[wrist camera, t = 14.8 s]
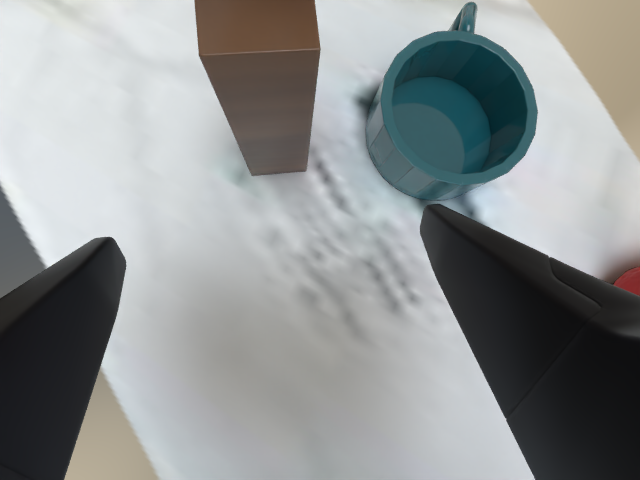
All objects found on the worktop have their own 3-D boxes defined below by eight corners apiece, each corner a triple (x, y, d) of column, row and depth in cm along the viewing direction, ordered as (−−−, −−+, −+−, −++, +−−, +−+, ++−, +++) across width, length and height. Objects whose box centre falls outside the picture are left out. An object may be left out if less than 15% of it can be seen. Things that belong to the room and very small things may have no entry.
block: (306, 171, 24) (320, 50, 11) (251, 175, 23) (198, 55, 10) (300, 119, 24) (307, -58, 11) (246, 123, 24) (189, -56, 11)
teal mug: (485, 213, 24) (527, 199, 20) (354, 185, 24) (368, 164, 19) (506, 56, 26) (550, 11, 22) (384, 26, 25) (403, -26, 21)
